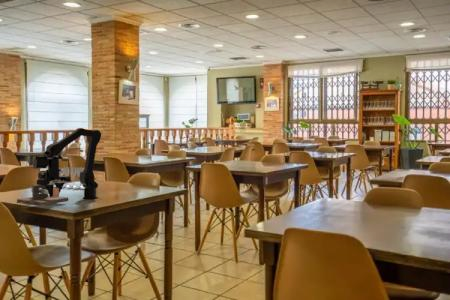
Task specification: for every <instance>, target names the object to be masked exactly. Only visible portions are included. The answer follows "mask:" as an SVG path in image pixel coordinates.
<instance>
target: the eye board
mask: <svg viewBox="0 0 450 300" xmlns="http://www.w3.org/2000/svg"><path fill="white" fill-rule="evenodd" d="M31 187H32V188H31V189H32V192H31V193H32V195H31V196H28V197H23V198H17V199H16V203H21V202H22V204H30V205H36V204H37V205H39V206H45V205H50V204H56V203H62V202H65V201H69V197H66V196H59V197H55V198H51V197H49V194H43V193H39V189H46V190H47V188H46V187H45V186H44V185H37V184H33V185H31ZM37 205H36V206H37Z"/></svg>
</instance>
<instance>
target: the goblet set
mask: <svg viewBox="0 0 450 300" xmlns="http://www.w3.org/2000/svg"><path fill="white" fill-rule="evenodd" d="M59 169H61V171H59V176H69V174H70V175H71V177H72V180H73V185H70V187H71V188H76V187H77V188H86V187H83V185H82V184H81V182H80V181H79V185H80V186H76V185H75V177H76V175H77V177H78V178H79V177H80V172H83V171H84V169H85V166H84V167H83V166H81V167H79V166H77V167H76V166H70V167H69V166H64V167H59ZM63 187H69V185H68V184H66V185H65V184H64V185H63Z"/></svg>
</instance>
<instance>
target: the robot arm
mask: <svg viewBox="0 0 450 300" xmlns="http://www.w3.org/2000/svg"><path fill="white" fill-rule="evenodd" d="M82 136H83V137H86V142H87V151H86V158H85V163H84V171H83V172H80V177H79V176H78V179H79V183H80V182H81V186H83V187H82V188H84V187H86V188H84V191H83V197H82V199H85V200H93V199H98V198H99V196H97V189H98V187H99V184H98V182H97V181H95V173H94V166H95V165H94V164H95V158H96V152H97V147H98V144H99V143H100V141H101V137H102V132H101V131H100V130H98V129H86V128H83V127H78V128H76V129H75V130H74V131H72V132H71V133H69V134H68V135H66V136H65V137H63V138H61V140H59V141H55V142H53V143H50V144H48V145H47V146H46V150H45V151H44V153H43V154H42V155H34V157H33V160H32V166H33V167H32V168H33V169H34V170H36V169H37V170H38V169H39V170H40V169H45V170H46V171H45V172H43V171H41V172H38V174H37V177H38V178H37V180H36V185H44V186H45V187H46V188H47V190H48V193H49V194H48V195H50V197H52V195H53V188H54V186H55V187H57V188H59V194H60V193H61V190H62V189H63V187H64V186H65V184H66V183H68V182H71V177H70V175H68V176H65V175H62V176H59V171H61V169H59V168H60V160H63V159H64V157H62V155H61V153H62V152H63V151H64V150H65V148H66V147H67V146H68V145H70V144H71V143H73V142H74V141H76V140H77V139H79V138H80V137H82ZM46 168H47V169H46ZM63 185H64V186H63Z"/></svg>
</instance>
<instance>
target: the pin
mask: <svg viewBox="0 0 450 300" xmlns="http://www.w3.org/2000/svg"><path fill="white" fill-rule="evenodd" d="M30 190H31V193H32V188H31V189H30ZM41 193H43V194H48V195H49V193H48V190H46V189H42V188H40V189H39V194H41ZM49 197H50V195H49ZM55 197H60V193H59V188H57V187H56V186H55V187H53V195H52V197H51V198H55Z"/></svg>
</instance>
